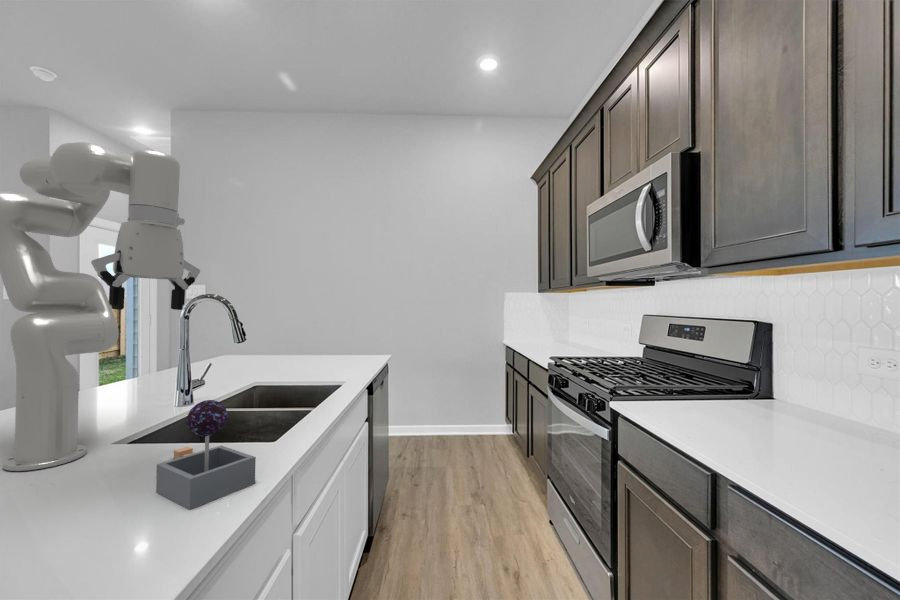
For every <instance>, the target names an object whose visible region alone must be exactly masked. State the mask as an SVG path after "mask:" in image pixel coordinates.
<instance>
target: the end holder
mask: <svg viewBox="0 0 900 600" xmlns="http://www.w3.org/2000/svg"><path fill="white" fill-rule="evenodd" d="M204 468H205V449H204V450H201V451H197V452H194V454H190V455H187V456H183V457H180V458H177V459H174V458H173V459H170V460H167V461H163V462H161V463H157V464H156V481H155V482H156V483H155V486H156V487H155V488H156V489H155V493H156V494H158V495H161V496H162V497H164V498H166V499H168V500H170V501H172V502H174V503H176V504H177V505H180V506H182V507H183V508H185V509H187V510H189V511H190V510H193V509H195V508H198V507H201V506H202V505H205V504H208V503H211V502H213V501H215V500H218V499H220V498H223V497H226V496H228V495H230V494H232V493H235V492H238V491H240V490H242V489H245V488H247V487H248V488H249V487H250V486H253V485H254V484H256V456H254V455H251V454H248V453H245V452H242V451H239V450H236V449H233V448H230V447H227V446H224V445H219V446H215V447H211V448H209V471H206V472H204Z"/></svg>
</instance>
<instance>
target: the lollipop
mask: <svg viewBox="0 0 900 600" xmlns="http://www.w3.org/2000/svg"><path fill="white" fill-rule="evenodd" d="M229 414H230V413H229V411H227V408H226V406H225V405H223V404H222V402H220V401H217V400H215V399H206V400H202V401H200V402H198V403H196V404H194V406H193V407H191V409H189V411H188V413H187V416H185V420H184V421H185V425H186V426H187V429H189V430H190V432H191V433H192V434H194V435H196V436H199V437H204V450H205V468H204V472H206V471H209V449H210V437H211V436H214V435H216V434H217V433H219V432H220V431H221V430H222V429H223V428H224V427H225V425H226V423H227V422H228V421H229V419H230V417H229V416H230V415H229Z"/></svg>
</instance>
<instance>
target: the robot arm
mask: <svg viewBox="0 0 900 600" xmlns="http://www.w3.org/2000/svg"><path fill="white" fill-rule="evenodd" d="M180 169H181V165H180V163H179V161H178V159H177V158H175V157H173V156H172V155H170V154H168V153H166V152H165V153H164V152H161V151H156V150H150V149H138V150H137V149H136V150H135V151H134V152H132V154H128V153H125V152H122V151H118V150H117V149H116V150H115V149H112V148H109V147H106V146H103V145H99V144H95V143H91V142H85V141H84V142H83V141H82V142H80V141H79V142H66V143H62V144H60V145H59V146H58V147H56V149H55V151H54V152H53V153H52V155H51V156H49V155H48V156H38V157H33V158H31V159H28V160H27V161H25V162H24V163H23V164H22V165H21V167H20V169H19V176H20V179H21V181H22V183H23V184H24V185H25V186H26V187H27V188H28V189H29V190H31V191H32V192H35V193H36V194H38V195H42V196H38V195H34V194H29V193H23V192H18V191H10V190H0V276H1V280H2V283H3V286H4V289H5V292H6V295H7V297H8V300H9V302H10V304H11V305H12V307H13V308H14V309H16V310H17V311H19V312H25V313H28V314H25V315H23V316H20V317H19V318H18V319H16V320H15V321H14V322H13V324H12V326H11V327H10V331H9V332H10V334H9V335H10V342H11V346H12V351H13V354H14V355H13V356H14V361H15V415H14V416H15V419H14V420H15V421H14V424H15V425H14V453H13V454H14V455H13V456H12V455H11V456H10V457H8V458H6V459H5V460H4V461H3V462H2V469H3V470H5V471H9V472H12V471H13V472H23V471H25V472H26V471H34V470H40V469H46V468H52V467H55V466H60V465H64V464H67V463H70V462H73V461H75V460H78V459H80V458H81V457H83V456H85V455H86V454H87V451H88V450H87V449H88V448H87V446H86V445H83V444H78V442H79V441H78V436H79V435H78V434H79V433H78V432H79V431H78V430H79V399H80V398H79V397H80V396H79V395H80V394H79V392H80V391H79V390H80V388H79V387H80V383H79V382H80V376H79V372H78V370H77V369H76V368H75V366H74V365H73V364H72V363H71V362H70V361H69V360H68V359H67V358H66V356H72V355H82V354H92V353H101V352H106V351H108V350H110V349H112V348H113V347H115V345H116V344H117V342H118V339H119V327H118V323H117V320H116V318H115V315H114V312H113V310H117V311H118V310H120V311H122V310H124V308H125V295H126V293H125V292H126V288H125V287H124V286H123V284H124V283H125V282H127V281H128V280H129V279H130V278H137V279H153V280H168V281H169V282H170V284H171V285H172V286H173V289H171V294H170V295H171V297H170V309H171V310H174V311H175V310H176V311H182V310H183V309H184V308H183V307H184V305H185V300H186V299H185V298H186V291H187V290H188V289H189V287H191V285H193V283H195V281H196V279H198V278H197V277H198V276H199V274H200V273H201V270H200V268H198V267H196V266H195V265H193V264H191V263H189V262H188V261H186V260H185V256H184V242H183V237H182V232H181V230H180V229H179V228H178V227H179V226H184V225H185V222H186V221H185V219H184V218H181V217H180V215H179V213H178V212H179V211H178V209H179V194H180V193H179V191H180V176H181V175H180V174H181V172H180V171H181V170H180ZM111 191H112V192H117V193H121V194H124V195H128V207H127V209H128V211H127V221H124V222H123V221H122V222H121V223H120V226H119V229H118V233H117V238H116V243H115V247H114V248H115V249H114V253H112V254H108V255H104V256H101V257H98V258H95V259H91V261H90V262H91V265H92V267H93V269H94V270H95V272H96V274H97V276H98V278H100V279H101V280H102V281H103V282H104V283H106V285H107V287H109V293H108V295H107V292H106V290H105V289H104V286H103V285H102V282H100V280H98V278H96V277H95V276H93V275H91V274H89V273H88V274H87V273H84V272H72V271H61V270H59V269H57V268H56V267H55V265H54V263H53V259H52V257H51V255H50V252H48V251H47V250H46V248H45V247H44V246H42V245H41V243H39V242H38V241H37V240H35V239H34V238H33V237H31V236H30V235H28V233H34V234H41V235H46V236H47V235H49V236H56V237H62V238H63V237H64V238H73V237H77V236H79V235H81V234H82V233H83V232H85V230H87V228H88V226H89V225H90V224H91V223H92V221H93V220H94V219H95V217H96V216H97V215H98V214H99V213H100V212H101V210H102V209H103V207H104V206H105V204H106V203H107V202H108V200H109V198H110V194H111ZM43 196H44V197H43ZM108 264H112V271H113V273H114V274H112V273H110V272H109V271H108V269H107V265H108ZM184 270H186V271H187V272H188V274H187V276H186V277H185V278H183V275H184Z"/></svg>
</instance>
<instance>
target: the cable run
mask: <svg viewBox="0 0 900 600" xmlns="http://www.w3.org/2000/svg"><path fill="white" fill-rule="evenodd" d="M193 450H194V448H193V447H190V446H186V447H182V448H178V449H174V450H173V459H177V458H180V457H183V456H187V455H190V454H194V453H195V452H194V451H193ZM193 452H194V453H193Z"/></svg>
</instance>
